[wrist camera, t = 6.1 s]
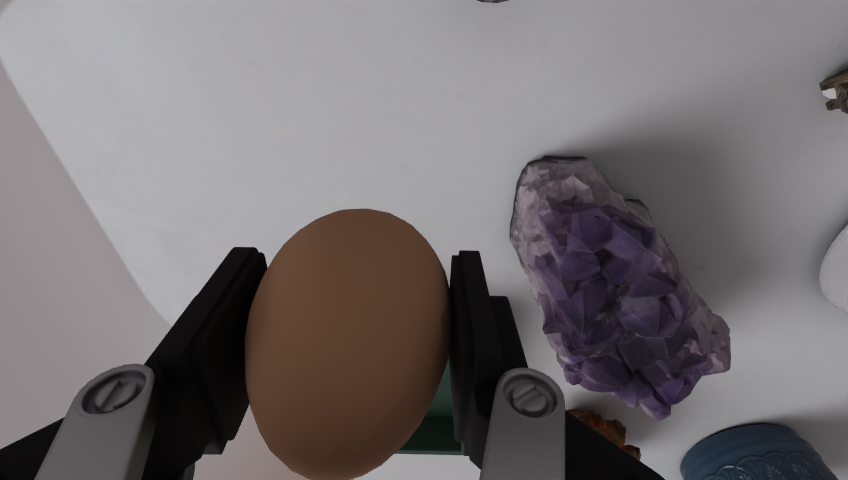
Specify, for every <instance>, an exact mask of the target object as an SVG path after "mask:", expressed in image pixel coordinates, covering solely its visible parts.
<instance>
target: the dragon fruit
mask: <svg viewBox="0 0 848 480" xmlns="http://www.w3.org/2000/svg"><path fill="white" fill-rule="evenodd" d="M567 412H569V413H570V414H572V415H573V416H575V417H576V418H578V419H579V420H580V421H582V422H583V423H585V424H586V425H588V426H589V427H591V428H592V429H594V430H595V431H596V432H598V433H599V434H601V435H602V436H604V437H605V438H607V439H608V440H610V441H611V442H613V443H614V444H615V445H617V446H618V447H620V448H621V449H623V450H624V451H626V452H627V453H629V454H630V455H632V456H633V457H634V458H636V459H637V460H640V456H641V454H640V448H638V447H635V446H632V445H626V446H625V445H624V443H625V433H626V427H625V426H623V424H622V423H621V422H620V421H618V420H617V419H615V420H613V421H611V420H603V418H602V417H601V415H600V414H598V413H596V412H594V411H589V412H583V411H567Z"/></svg>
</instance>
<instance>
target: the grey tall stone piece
mask: <svg viewBox="0 0 848 480" xmlns="http://www.w3.org/2000/svg"><path fill="white" fill-rule="evenodd" d="M478 1H480V2H491V3H499V2H503V1H508V0H478Z"/></svg>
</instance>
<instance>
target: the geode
mask: <svg viewBox="0 0 848 480" xmlns="http://www.w3.org/2000/svg"><path fill="white" fill-rule="evenodd" d="M510 241H511V243H512V245H513V246H514V248H515V250H516V251H517V254H518V256H519V259H520V263H521V266H522V268H523V270H524V271H525V273H526V274H527V275H528V277H529V280H530V283H531V290H530V291H531V292H532V294H533V296H534V299H535V301H536V302H537V304H538V305H539V312H540V313H541V315H542V317H543V318H544V322H543V323H544V325H543V331H544V333H545V334H547V338H548V342H549V343H550V345H551V347H552V348H553V349H554V350H555V351H556V352H557V361H558V362H559V364H560V365H561V367H562V368H563V370H564V375H565V378H566V381H567V382H569V383H570V384H572V385H576V384H579V385H581V386H582V387H584V388H586V389H588V390H590V391H595V392H600V393H601V392H608V393H610V394H612V395H614V396H616V397H618V398H620V399H623V400H624V401H625V402H626V403H627V406H629V407H631V408H634V407H637V406H638V405H641V406H642V408H643V409H644V411H645V413H646V414H647V415H649V416H650V417H652V418H654V419H656V420H657V421H660V420H662V419H664V418H666V417H668V416H669V415H671V414H670V411H671V405H674V404H677V403H679V402H681V401H682V400H683V399H684V398H686V397H687V396H688V395H690V393H691V391H692V390H693V388H694V386H695V385H696V383H697V382H698V381H699V379H700V378H701V377H702V376H704V375H710V374H717V373H723V372H726V371H728V370H729V369H730V363H731V352H730V337H729V332H730V329H729V327H728V325H727V324H726V323H725V321H724V320H723V318H722V317H720V316H718V315H715V314H714V313H713V312H712V311H711V310H710V309H709V308H708V307H707V304H706V303H705V301H704V300H703V299H702V298H701V297H700V296H699V295H698V294H697V293H696V292H695V291H694V290H693V289H692V288H691V286H690V285H689V283H688V281H687V280H686V279H685V278H684V277H683V276H682V275H681V274H680V273H679V271H678V265H677V259H676V257H675V256H674V254H673V253H672V252H671V250H670V248H669V245H668V244H667V243H666V242H665V239H664V238H663V236H662V235H661V234H660V233H659V232H658V231H657V229H656V227H655V225H654V223H653V221H652V217H651V215H650V213H649V210H648V208H647V207H646V206H645V205H644V204H643V203H642V202H641V201H640V200H638V199H627V200H624V199H623V195H621V194H618V193H616V192H615V191H614V190H613V189H612V188H611V187H610V185H609V184H608V182H607V181H606V179H605V178H604V176H603V175H602V173H601V172H600V171H599V170H598V168H597V167H596V166H595V165H594V164H593V162H592V161H591V160H590V159H587V158H585V157H556V156H544V157H543V158H542V159H541V160H537V161H532V162H528V164H527V165H526V166H525V168H524V169H523V170H522V173H521V175H520V178H519V180H518V182H517V187H516V194H515V199H514V207H513V214H512V219H511V223H510Z"/></svg>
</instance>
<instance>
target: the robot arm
mask: <svg viewBox="0 0 848 480" xmlns="http://www.w3.org/2000/svg"><path fill="white" fill-rule="evenodd" d="M266 270H267V264H266V260H265V256H264V254H263V253H260V252H258V250H257V248H255V247H234V248H233V249H232V250H231V251H230V252H229V254H228V255H227V256H226V258H225V259H224V260H223V262H222V263H221V264H220V266H219V267H218V268H217V270H216V271H215V272H214V274H213V275H212V276H211V278H210V279H209V280H208V282H207V283H206V284H205V286H204V287H203V288H202V290H201V291H200V292H199V294H198V295H197V296H195V297H194V299H193V300H192V301H191V303H190V304H189V305H188V307H187V308H186V309H185V311H184V312H183V313H182V315H181V316H180V317H179V319H178V320H177V321H176V323H175V324H174V325H173V327H172V328H171V329H170V331H169V332H168V333H167V335H166V336H165V337H164V339H163V340H162V341H161V343H160V344H159V346H158V347H157V348H156V349H155V351H154V352H153V353H152V355H151V356H150V357H149V359H148V360H147V361H146V363H145V364H144V365H141V364H129V365H123V366H119V367H116V368H112V369H110V370H108V371H106V372H104V373H102V374H100V375H98V376H97V377H95V378H94V379H92V380H91V381H89V382H88V383H87V384H86V385H85V386H84V387H83V388H82V389H81V390H80V391H79V392H78V394H77V395H76V397H75V398H74V400H73V402H72V404H71V406H70V408H69V410H68V412H67V414H66V416H65V417H64V418H62V419H60V420H58V421H57V422H54V423H52V424H50V425H48V426H46V427H45V428H42V429H40V430H38V431H36V432H34V433H32V434H30V435H28V436H26V437H24V438H22V439H20V440H18V441H16V442H14V443H12V444H10V445H8V446H6V447H4V448H2V449H0V480H193V477H194V470H195V462H196V461H197V460H199V459H200V458H201V457H202V455H203V454H222V453H223V450H224V448H225V446H226V443H227V441H228V440H233V439H234V438H235V436H236V434H237V432H238V430H239V427H240V425H241V422H242V420H243V418H244V415H245V413H246V411H247V408H248V406H249V403H250V402H249V398H248V393H247V389H246V375H245V334H246V328H247V322H248V317H249V312H250V308H251V305H252V302H253V300H254V297H255V295H256V292H257V290H258V287H259V285H260V282H261V280H262V278H263V276H264V274H265V272H266ZM450 298H451V310H452V322H453V325H452V334H451V343H450V351H449V370H450V383H451V396H452V409H453V422H454V434H455V441H456V442H463V448H464V456H469V458H470V460H471V461H472V462H473V463H474V464H475V465H476V466H477V467H478V468H479V469H481V473H480V479H479V480H665V479H664V478H663V477H661V476H660V475H659V474H658V473H656V472H655V471H653V470H652V469H651V468H649V467H648V466H646V465H645V464H643V463H642V462H640V461H639V460H637V459H636V458H634V457H633V456H632V455H630V454H629V453H627V452H626V451H624V450H623V449H621V448H620V447H618V446H617V445H615V444H614V443H613V442H611V441H610V440H608V439H607V438H605V437H604V436H602V435H601V434H599V433H598V432H596V431H595V430H594V429H592V428H591V427H589V426H588V425H586V424H585V423H583V422H582V421H580V420H579V419H578V418H576V417H575V416H573V415H572V414H570V413H569V412H567V411H566V410H565V400H564V395H563V393H562V391H561V389H560V387H559V386H558V385H557V384H556V383H555V381H554V380H553V379H552V378H550V377H549V376H547V375H546V374H544V373H542V372H540V371H537V370H534V369H530V368H528V365H527V362H526V358H525V355H524V351H523V348H522V345H521V341H520V338H519V334H518V331H517V327H516V324H515V320H514V317H513V314H512V310H511V307H510V303H509V300H508V298H507V297H506V296H489V292H488V287H487V283H486V279H485V274H484V270H483V266H482V261H481V257H480V253H479V251H459V256H457V255H452V262H451V276H450Z"/></svg>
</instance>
